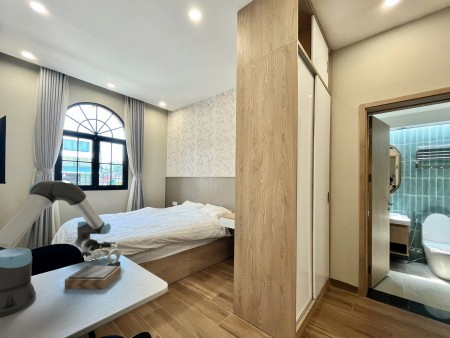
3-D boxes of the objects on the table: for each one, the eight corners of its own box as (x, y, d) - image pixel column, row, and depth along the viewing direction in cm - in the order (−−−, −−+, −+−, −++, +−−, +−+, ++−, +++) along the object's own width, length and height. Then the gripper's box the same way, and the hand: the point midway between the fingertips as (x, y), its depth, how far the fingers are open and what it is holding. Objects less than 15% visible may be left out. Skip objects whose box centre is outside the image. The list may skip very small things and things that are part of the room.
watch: (122, 265, 120) (122, 247, 121) (112, 271, 113) (112, 252, 113) (115, 264, 122) (115, 246, 122) (104, 270, 114) (104, 251, 114)
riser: (64, 288, 96) (64, 277, 96) (86, 274, 110) (86, 264, 110) (103, 289, 95) (104, 278, 95) (120, 274, 109) (120, 265, 109)
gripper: (108, 244, 145) (124, 250, 133) (68, 257, 124) (83, 265, 112) (108, 234, 145) (124, 239, 134) (68, 245, 124) (83, 252, 113)
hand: (105, 251), depth 123 cm, fingers open, 13 cm apart
